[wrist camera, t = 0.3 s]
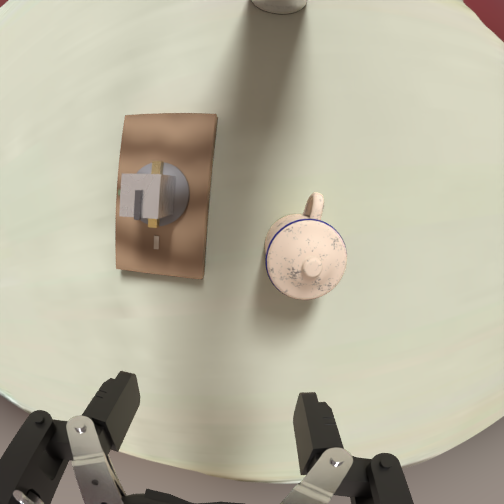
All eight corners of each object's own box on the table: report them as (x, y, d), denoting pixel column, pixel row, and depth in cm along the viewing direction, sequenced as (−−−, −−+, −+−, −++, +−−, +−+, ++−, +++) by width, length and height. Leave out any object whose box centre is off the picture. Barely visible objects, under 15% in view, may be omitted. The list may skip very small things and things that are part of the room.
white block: (142, 161, 32) (121, 157, 26) (177, 162, 32) (161, 157, 26) (138, 225, 34) (117, 232, 28) (172, 227, 34) (156, 236, 28)
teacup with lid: (317, 282, 39) (340, 317, 28) (256, 268, 39) (257, 301, 27) (340, 201, 36) (374, 207, 25) (276, 183, 36) (287, 181, 25)
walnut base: (130, 118, 34) (122, 114, 31) (217, 117, 34) (215, 112, 31) (121, 265, 39) (113, 270, 36) (204, 274, 39) (200, 281, 36)
